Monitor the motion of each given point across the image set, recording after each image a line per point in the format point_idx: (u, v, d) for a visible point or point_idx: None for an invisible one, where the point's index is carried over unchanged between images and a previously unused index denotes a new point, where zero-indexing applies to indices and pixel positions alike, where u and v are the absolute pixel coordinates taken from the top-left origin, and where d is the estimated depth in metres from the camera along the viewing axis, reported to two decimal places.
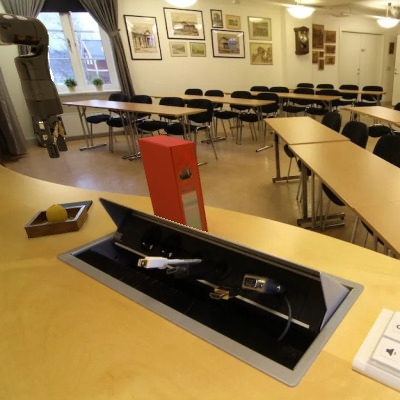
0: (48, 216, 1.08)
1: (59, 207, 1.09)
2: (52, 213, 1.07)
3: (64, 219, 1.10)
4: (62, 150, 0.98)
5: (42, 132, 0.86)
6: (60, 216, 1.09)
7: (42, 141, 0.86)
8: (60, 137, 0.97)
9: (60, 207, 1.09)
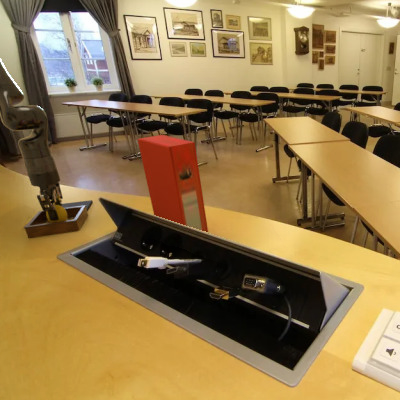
0: (48, 216, 1.08)
1: (59, 207, 1.09)
2: None
3: (64, 219, 1.10)
4: None
5: (43, 203, 1.02)
6: (60, 216, 1.09)
7: (44, 209, 1.03)
8: (57, 202, 1.11)
9: (60, 207, 1.09)
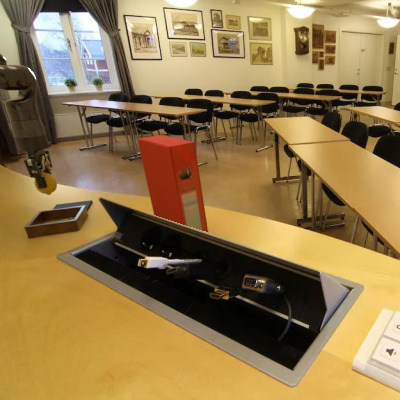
0: (36, 184, 1.03)
1: (48, 175, 1.05)
2: None
3: (53, 188, 1.06)
4: None
5: (31, 168, 0.98)
6: (49, 185, 1.04)
7: (31, 175, 0.99)
8: (46, 170, 1.07)
9: (49, 175, 1.05)
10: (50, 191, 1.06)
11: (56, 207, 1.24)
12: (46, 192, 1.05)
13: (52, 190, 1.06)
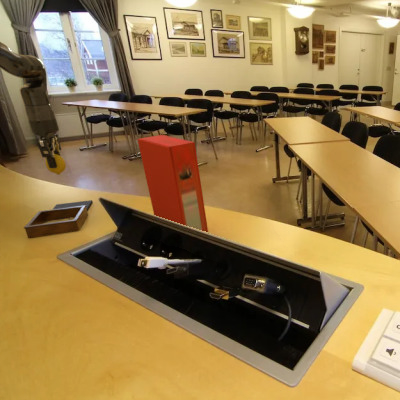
0: (47, 164, 1.14)
1: (58, 156, 1.15)
2: None
3: (62, 168, 1.16)
4: None
5: (43, 149, 1.08)
6: (58, 165, 1.15)
7: (43, 155, 1.09)
8: (56, 152, 1.17)
9: (59, 156, 1.15)
10: (60, 171, 1.16)
11: (56, 207, 1.24)
12: (56, 172, 1.16)
13: (61, 170, 1.16)
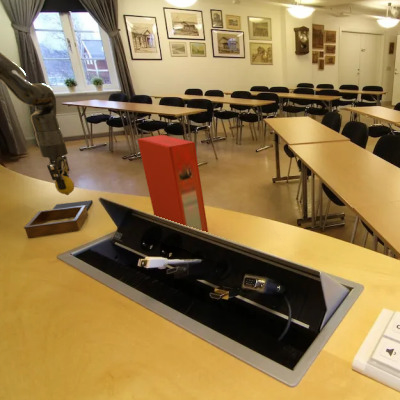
0: (57, 185, 1.19)
1: (67, 178, 1.20)
2: None
3: (71, 189, 1.21)
4: None
5: (53, 172, 1.13)
6: (67, 186, 1.20)
7: (53, 178, 1.14)
8: (64, 173, 1.22)
9: (67, 178, 1.21)
10: (68, 192, 1.21)
11: (56, 207, 1.24)
12: (65, 193, 1.21)
13: (70, 191, 1.21)
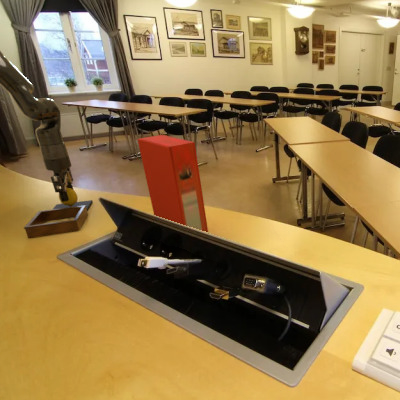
0: None
1: (70, 190, 1.22)
2: None
3: (75, 201, 1.23)
4: None
5: (56, 184, 1.14)
6: (71, 198, 1.22)
7: (56, 190, 1.15)
8: (68, 183, 1.25)
9: (71, 190, 1.22)
10: (72, 203, 1.23)
11: (56, 207, 1.24)
12: (69, 204, 1.22)
13: (74, 202, 1.23)
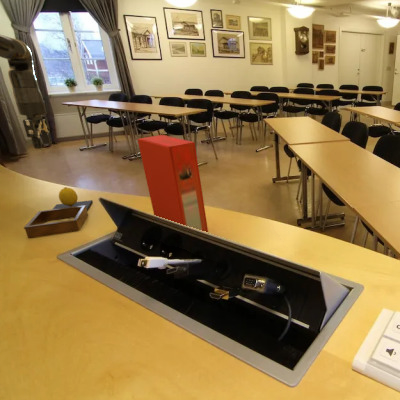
0: (61, 197, 1.20)
1: (70, 190, 1.22)
2: (64, 195, 1.20)
3: (75, 201, 1.23)
4: (46, 142, 1.23)
5: (28, 128, 1.11)
6: (71, 198, 1.22)
7: (28, 135, 1.11)
8: (44, 132, 1.22)
9: (71, 190, 1.22)
10: (72, 203, 1.23)
11: (56, 207, 1.24)
12: (69, 204, 1.22)
13: (74, 202, 1.23)
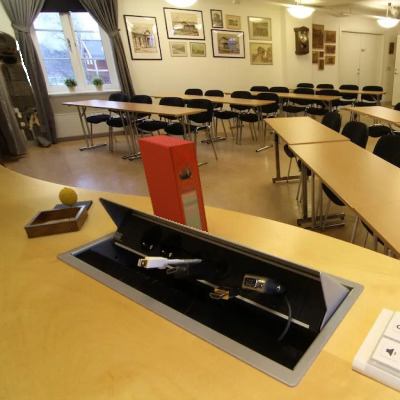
0: (61, 197, 1.20)
1: (70, 190, 1.22)
2: (64, 195, 1.20)
3: (75, 201, 1.23)
4: (38, 135, 1.25)
5: (20, 120, 1.13)
6: (71, 198, 1.22)
7: (20, 127, 1.14)
8: (36, 125, 1.24)
9: (71, 190, 1.22)
10: (72, 203, 1.23)
11: (56, 207, 1.24)
12: (69, 204, 1.22)
13: (74, 202, 1.23)
